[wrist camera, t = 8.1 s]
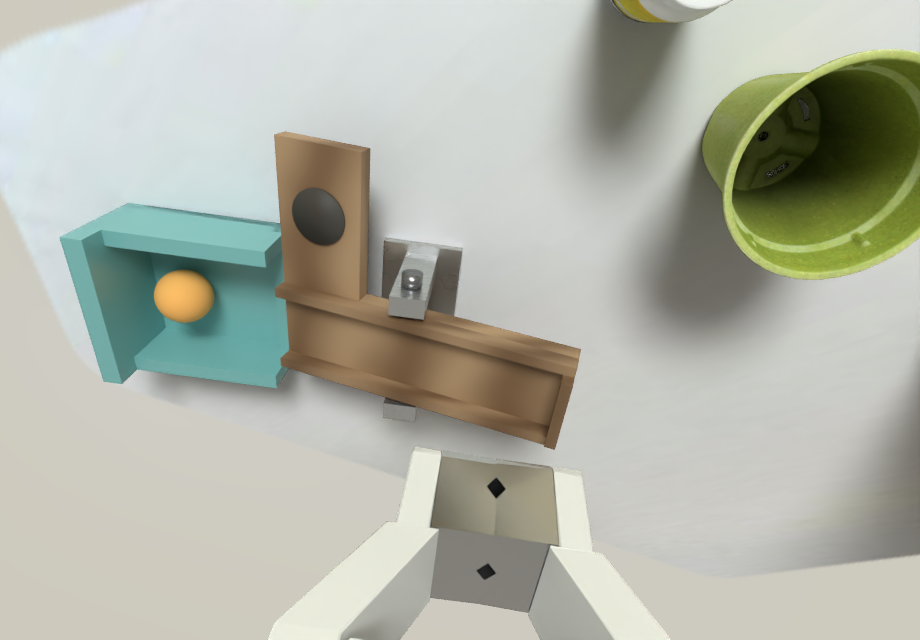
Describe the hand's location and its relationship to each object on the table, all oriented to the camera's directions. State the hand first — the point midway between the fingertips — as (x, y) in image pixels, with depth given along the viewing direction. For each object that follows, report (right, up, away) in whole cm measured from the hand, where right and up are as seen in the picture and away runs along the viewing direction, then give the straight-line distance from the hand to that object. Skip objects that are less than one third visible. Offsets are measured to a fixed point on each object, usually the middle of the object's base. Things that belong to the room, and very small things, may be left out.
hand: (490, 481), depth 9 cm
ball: (-19, +5, +24) cm, 31 cm away
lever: (-2, +5, +20) cm, 21 cm away
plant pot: (+16, +13, +19) cm, 28 cm away
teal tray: (-17, +6, +26) cm, 32 cm away
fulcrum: (-3, +4, +26) cm, 27 cm away
